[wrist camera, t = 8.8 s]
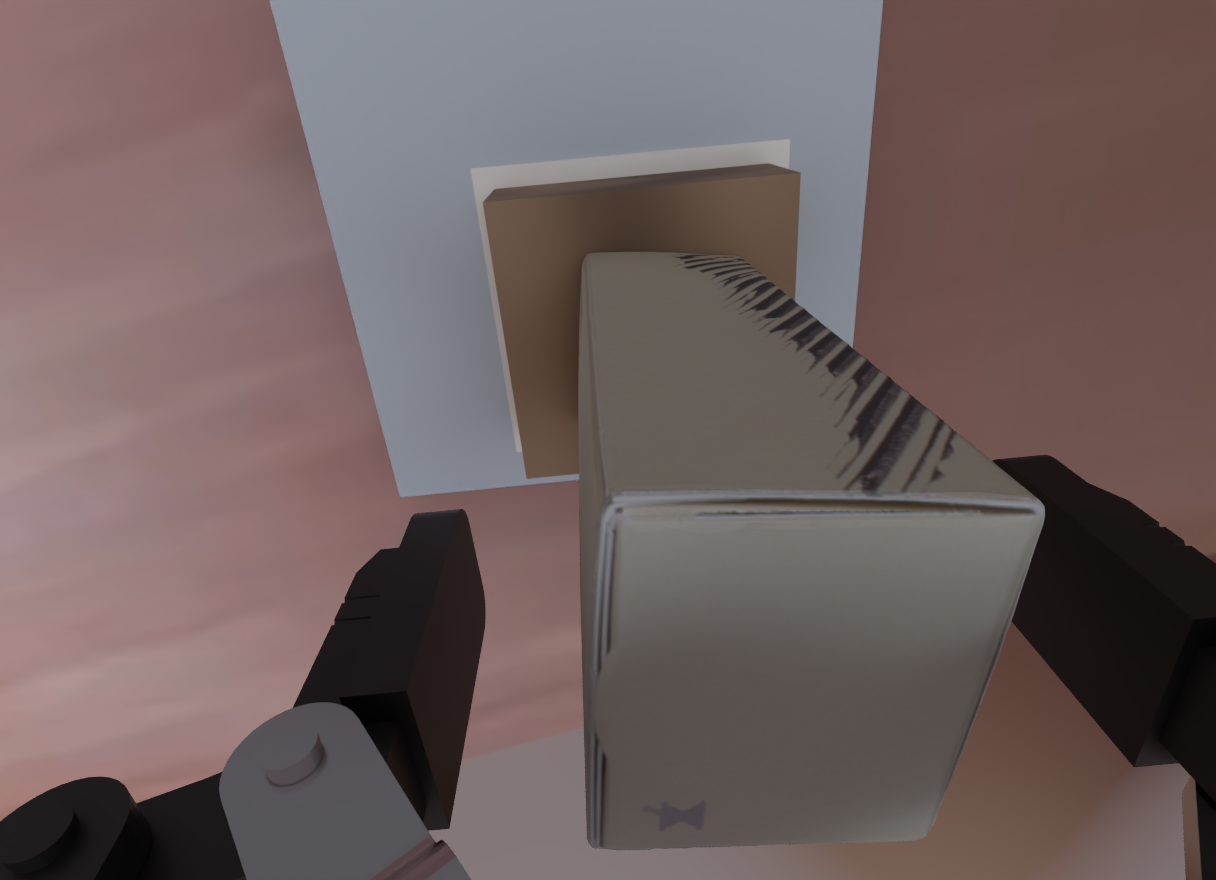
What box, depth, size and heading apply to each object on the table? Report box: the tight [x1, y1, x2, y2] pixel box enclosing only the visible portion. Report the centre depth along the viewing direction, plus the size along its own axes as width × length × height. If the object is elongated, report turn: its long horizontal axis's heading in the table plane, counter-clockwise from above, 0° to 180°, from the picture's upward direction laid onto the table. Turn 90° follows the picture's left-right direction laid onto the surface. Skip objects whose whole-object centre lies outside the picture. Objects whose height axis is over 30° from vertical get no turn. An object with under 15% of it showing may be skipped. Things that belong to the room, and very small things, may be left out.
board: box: [270, 0, 883, 497], centre depth 21 cm, size 16×16×1 cm
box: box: [578, 252, 1045, 850], centre depth 13 cm, size 5×4×13 cm
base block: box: [483, 163, 801, 479], centre depth 20 cm, size 8×8×3 cm
